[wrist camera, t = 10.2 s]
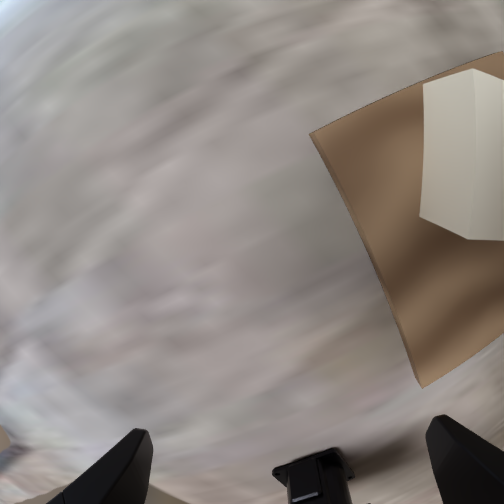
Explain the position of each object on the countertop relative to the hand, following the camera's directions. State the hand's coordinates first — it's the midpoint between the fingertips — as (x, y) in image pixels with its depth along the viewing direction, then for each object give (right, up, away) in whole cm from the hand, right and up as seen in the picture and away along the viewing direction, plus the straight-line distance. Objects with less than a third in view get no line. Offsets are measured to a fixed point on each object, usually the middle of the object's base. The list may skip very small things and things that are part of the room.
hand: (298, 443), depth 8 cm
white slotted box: (+11, +11, +7) cm, 18 cm away
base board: (+14, +8, +10) cm, 19 cm away
